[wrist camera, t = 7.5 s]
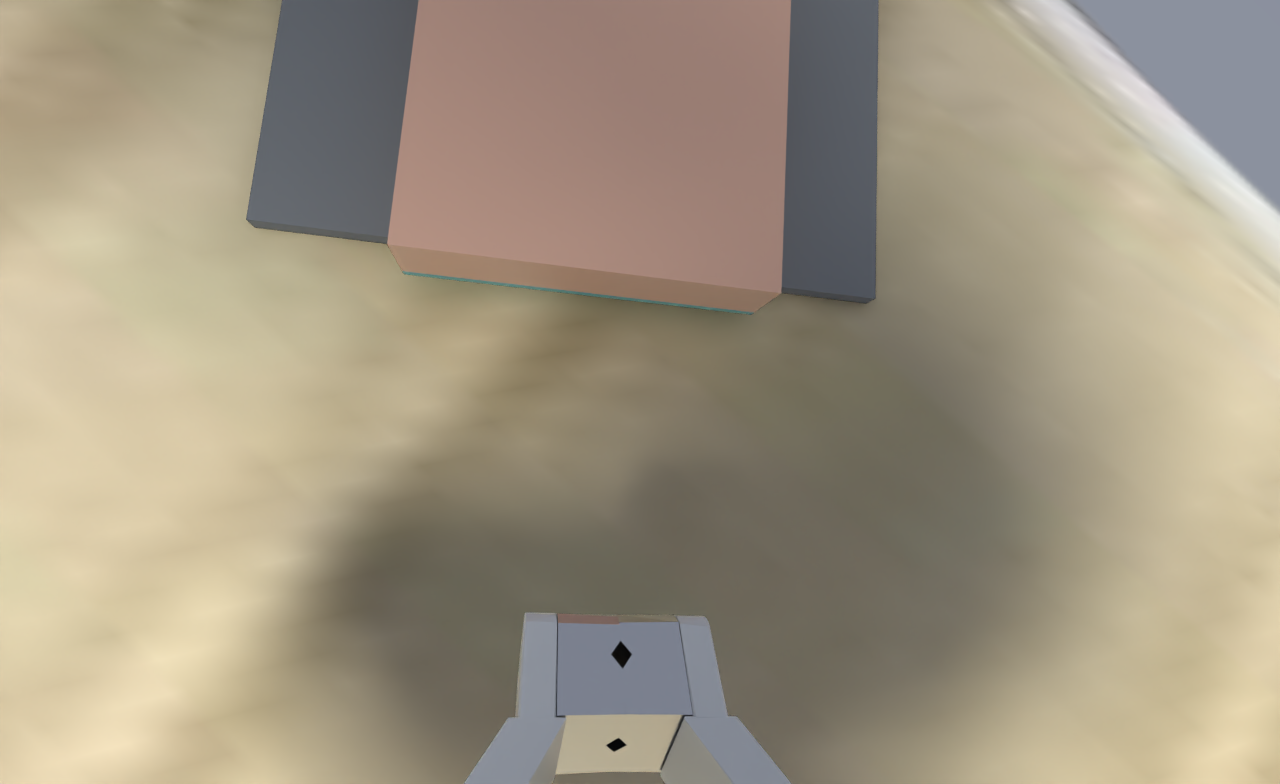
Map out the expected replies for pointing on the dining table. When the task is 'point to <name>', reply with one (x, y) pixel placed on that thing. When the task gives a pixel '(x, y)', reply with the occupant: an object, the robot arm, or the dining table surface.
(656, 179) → the tile
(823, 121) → the mat
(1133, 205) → the dining table surface
